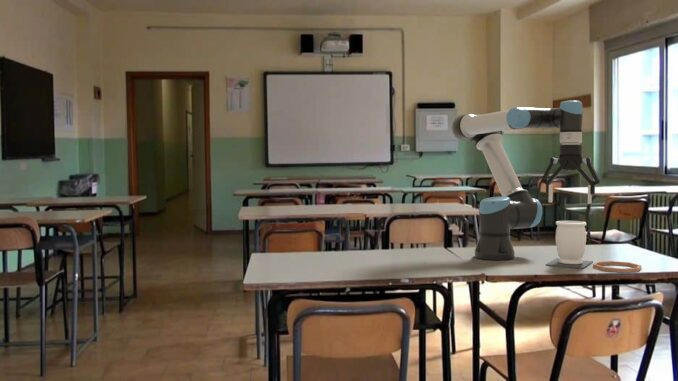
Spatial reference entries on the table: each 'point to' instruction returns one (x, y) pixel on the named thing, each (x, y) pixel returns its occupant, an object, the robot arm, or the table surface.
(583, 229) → the jar
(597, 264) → the brown wooden ring
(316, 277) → the table surface
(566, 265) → the mat
